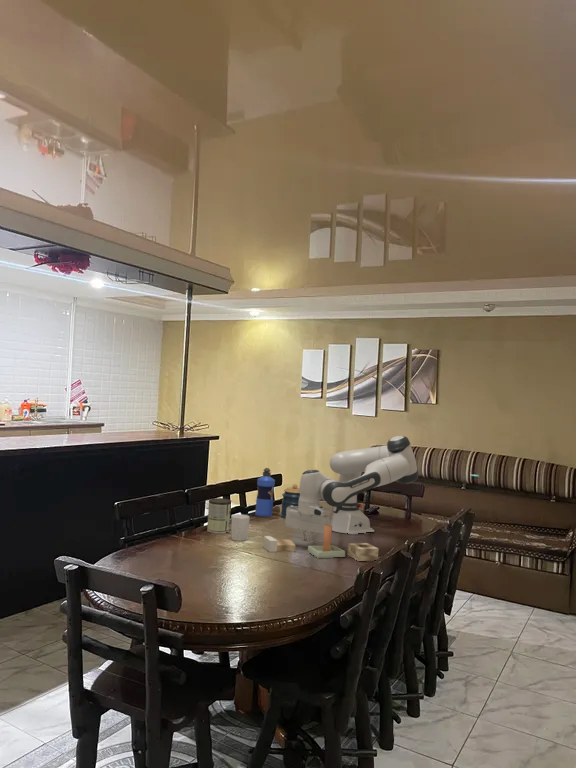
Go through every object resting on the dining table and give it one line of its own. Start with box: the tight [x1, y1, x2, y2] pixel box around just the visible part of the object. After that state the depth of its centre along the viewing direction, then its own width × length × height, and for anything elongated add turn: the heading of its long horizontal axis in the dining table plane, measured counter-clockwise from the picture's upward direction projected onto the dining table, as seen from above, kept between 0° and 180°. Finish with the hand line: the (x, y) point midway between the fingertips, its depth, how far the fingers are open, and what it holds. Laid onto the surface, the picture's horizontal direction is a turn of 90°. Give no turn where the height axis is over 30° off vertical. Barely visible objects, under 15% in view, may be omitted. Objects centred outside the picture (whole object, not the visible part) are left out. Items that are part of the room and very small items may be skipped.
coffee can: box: [206, 497, 232, 534], centre depth 266 cm, size 10×10×14 cm
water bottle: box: [255, 467, 276, 518], centre depth 311 cm, size 9×9×25 cm
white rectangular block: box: [262, 535, 277, 553], centre depth 239 cm, size 3×8×4 cm, turn 23°
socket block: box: [346, 542, 380, 562], centre depth 235 cm, size 9×9×5 cm
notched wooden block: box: [275, 538, 296, 552], centre depth 242 cm, size 8×10×3 cm
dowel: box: [322, 525, 333, 552], centre depth 237 cm, size 3×3×11 cm
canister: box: [280, 484, 300, 519], centre depth 309 cm, size 13×13×18 cm
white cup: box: [230, 513, 251, 542], centre depth 253 cm, size 8×8×10 cm
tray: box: [307, 544, 346, 559], centre depth 237 cm, size 12×10×2 cm
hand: (306, 540), depth 246 cm, fingers closed
